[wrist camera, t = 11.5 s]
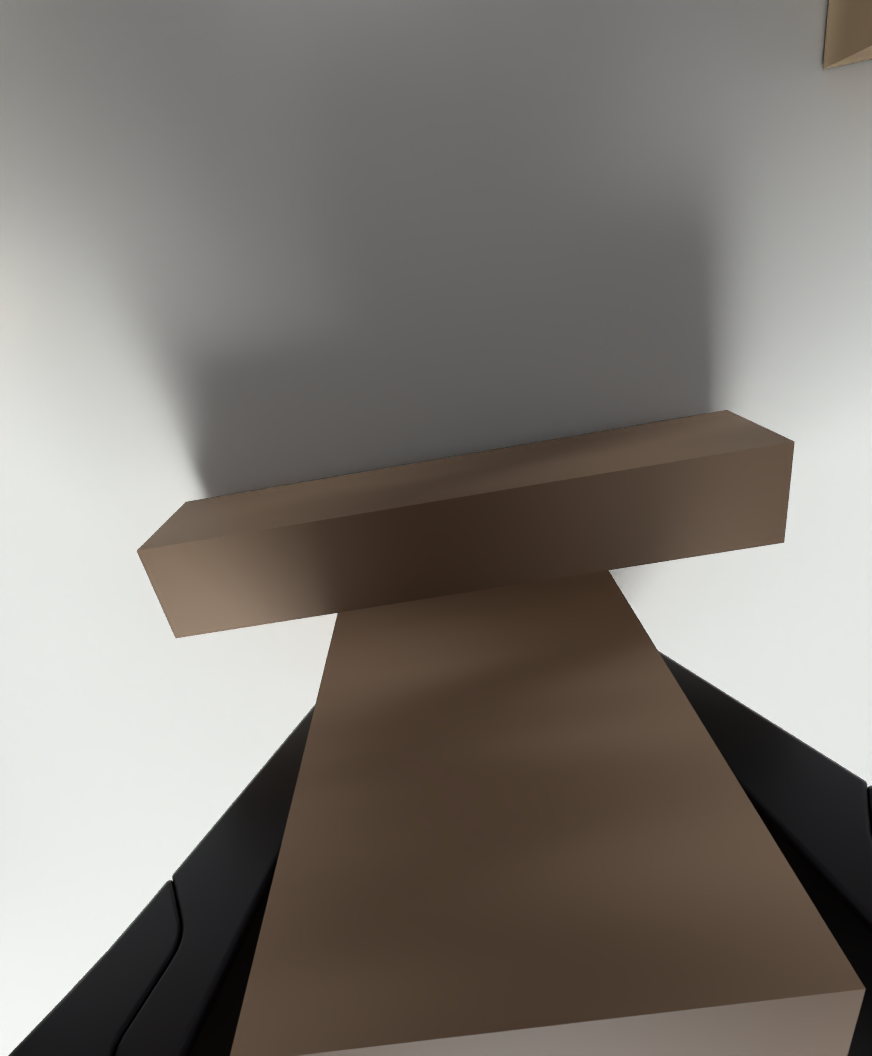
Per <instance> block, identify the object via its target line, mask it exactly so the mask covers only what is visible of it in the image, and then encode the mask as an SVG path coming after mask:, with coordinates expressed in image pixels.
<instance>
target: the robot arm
mask: <svg viewBox="0 0 872 1056" xmlns="http://www.w3.org/2000/svg"><path fill="white" fill-rule="evenodd" d="M658 652H659V651H658ZM659 654H660V655H661V657H662V658H663V660H664V662H665V663H666V665H667V667H668V668H669V670H670V671H671V673H672V675H673V676H674V678H675V680H676V681H677V683H678V684H679V686H680V688H681V689H682V691H683V693H684V694H685V696H686V697H687V699H688V701H689V702H690V704H691V706H692V707H693V709H694V710H695V712H696V714H697V715H698V717H699V719H700V720H701V722H702V723H703V725H704V727H705V728H706V730H707V732H708V733H709V735H710V736H711V738H712V740H713V741H714V743H715V745H716V746H717V748H718V749H719V751H720V753H721V754H722V756H723V758H724V759H725V761H726V762H727V764H728V766H729V767H730V769H731V771H732V772H733V774H734V775H735V777H736V779H737V780H738V782H739V784H740V785H741V787H742V788H743V790H744V792H745V793H746V795H747V797H748V798H749V800H750V801H751V803H752V805H753V806H754V808H755V810H756V811H757V813H758V815H759V816H760V818H761V819H762V821H763V823H764V824H765V826H766V828H767V829H768V831H769V832H770V834H771V836H772V837H773V839H774V841H775V842H776V844H777V845H778V847H779V849H780V850H781V852H782V854H783V855H784V857H785V858H786V860H787V862H788V863H789V865H790V867H791V868H792V870H793V871H794V873H795V875H796V876H797V878H798V880H799V881H800V883H801V884H802V886H803V888H804V889H805V891H806V893H807V894H808V896H809V897H810V899H811V901H812V902H813V904H814V906H815V907H816V909H817V910H818V912H819V914H820V915H821V917H822V919H823V920H824V922H825V923H826V925H827V927H828V928H829V930H830V932H831V933H832V935H833V936H834V938H835V940H836V941H837V943H838V945H839V946H840V948H841V949H842V951H843V953H844V954H845V956H846V958H847V959H848V961H849V962H850V964H851V966H852V967H853V969H854V971H855V972H856V974H857V975H858V977H859V979H860V980H861V982H862V984H863V985H864V987H865V988H866V990H865V994H864V997H863V1001H862V1004H861V1008H860V1012H859V1015H858V1019H857V1022H856V1026H855V1030H854V1033H853V1037H852V1041H851V1044H850V1048H849V1051H848V1055H847V1056H872V786H869V787H868V788H867V783H866V781H864V780H863V779H861V778H860V777H858V776H857V775H855V774H853V773H852V772H850V771H849V770H847V769H845V768H844V767H842V766H841V765H839V764H837V763H836V762H834V761H833V760H831V759H830V758H828V757H826V756H825V755H823V754H822V753H820V752H818V751H817V750H815V749H814V748H812V747H810V746H809V745H807V744H806V743H804V742H802V741H801V740H799V739H798V738H796V737H795V736H793V735H791V734H790V733H788V732H787V731H785V730H783V729H782V728H780V727H779V726H777V725H775V724H774V723H772V722H771V721H769V720H767V719H766V718H764V717H763V716H761V715H760V714H758V713H756V712H755V711H753V710H752V709H750V708H748V707H747V706H745V705H744V704H742V703H740V702H739V701H737V700H736V699H734V698H732V697H731V696H729V695H728V694H726V693H725V692H723V691H721V690H720V689H718V688H717V687H715V686H713V685H712V684H710V683H709V682H707V681H705V680H704V679H702V678H701V677H699V676H697V675H696V674H694V673H693V672H691V671H690V670H688V669H686V668H685V667H683V666H682V665H680V664H678V663H677V662H675V661H674V660H672V659H670V658H669V657H667V656H666V655H664V654H662V653H661V652H659ZM315 705H316V704H315ZM315 705H314V707H313V708H312V709H311V710H310V711H309V713H308V714H307V715H306V716H305V717H304V719H303V720H302V721H301V722H300V723H299V725H298V726H297V727H296V728H295V729H294V730H293V732H292V733H291V734H290V735H289V736H288V738H287V739H286V740H285V741H284V742H283V744H282V745H281V746H280V747H279V748H278V750H277V751H276V752H275V753H274V754H273V756H272V757H271V758H270V759H269V760H268V762H267V763H266V764H265V765H264V766H263V768H262V769H261V770H260V771H259V772H258V774H257V775H256V776H255V777H254V778H253V780H252V781H251V782H250V783H249V784H248V785H247V787H246V788H245V789H244V790H243V791H242V793H241V794H240V795H239V796H238V797H237V799H236V800H235V801H234V802H233V803H232V805H231V806H230V807H229V808H228V809H227V811H226V812H225V813H224V814H223V815H222V817H221V818H220V819H219V820H218V821H217V823H216V824H215V825H214V826H213V827H212V829H211V830H210V831H209V832H208V833H207V835H206V836H205V837H204V838H203V839H202V840H201V842H200V843H199V844H198V845H197V846H196V848H195V849H194V850H193V851H192V852H191V854H190V855H189V856H188V857H187V858H186V860H185V861H184V862H183V863H182V864H181V866H180V867H179V868H178V869H177V870H176V872H175V873H174V874H173V876H172V879H173V881H172V880H169V881H167V882H166V883H165V884H164V886H163V887H162V888H161V889H160V890H159V892H158V893H157V894H156V895H155V896H154V898H153V899H152V900H151V901H150V902H149V904H148V905H147V906H146V907H145V908H144V909H143V911H142V912H141V913H140V914H139V915H138V916H137V917H136V919H135V920H134V921H133V922H132V923H131V924H130V926H129V927H128V928H127V929H126V930H125V931H124V932H123V934H122V935H121V936H120V937H119V938H118V939H117V940H116V942H115V943H114V944H113V945H112V946H111V947H110V949H109V950H108V951H107V952H106V953H105V954H104V955H103V956H102V957H101V958H100V959H99V960H98V962H97V963H96V964H95V965H94V966H93V967H92V968H91V969H90V970H89V971H88V972H87V973H86V974H85V976H84V977H83V978H82V979H81V980H80V981H79V982H78V983H77V984H76V985H75V986H74V987H73V988H72V990H71V991H70V992H69V993H68V994H67V995H66V996H65V997H64V998H63V999H62V1000H61V1001H60V1002H59V1003H58V1004H57V1005H56V1006H55V1008H54V1009H53V1010H52V1011H51V1012H50V1013H49V1014H48V1015H47V1016H46V1017H45V1018H44V1019H43V1020H42V1021H41V1022H40V1023H39V1024H38V1025H37V1026H36V1027H35V1028H34V1029H33V1030H32V1032H31V1033H30V1034H29V1035H28V1036H27V1037H26V1038H25V1039H24V1040H23V1041H22V1042H21V1043H20V1044H19V1045H18V1046H17V1047H16V1048H15V1049H14V1050H13V1051H12V1052H11V1053H10V1054H9V1056H230V1053H231V1049H232V1045H233V1041H234V1037H235V1033H236V1028H237V1024H238V1020H239V1016H240V1012H241V1008H242V1004H243V1000H244V996H245V992H246V988H247V983H248V979H249V975H250V971H251V967H252V963H253V959H254V955H255V951H256V947H257V942H258V938H259V934H260V930H261V926H262V922H263V918H264V914H265V910H266V906H267V901H268V897H269V893H270V889H271V885H272V881H273V877H274V873H275V869H276V865H277V860H278V856H279V852H280V848H281V844H282V840H283V836H284V832H285V828H286V824H287V819H288V815H289V811H290V807H291V803H292V799H293V795H294V791H295V787H296V783H297V778H298V774H299V770H300V766H301V762H302V758H303V754H304V750H305V746H306V742H307V738H308V733H309V729H310V725H311V721H312V717H313V713H314V709H315Z"/></svg>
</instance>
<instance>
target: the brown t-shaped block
mask: <svg viewBox="0 0 872 1056" xmlns="http://www.w3.org/2000/svg"><path fill="white" fill-rule="evenodd" d="M793 451H794V441H792V440H790V439H788V438H786V437H784V436H781V435H779V434H777V433H775V432H773V431H771V430H769V429H766V428H764V427H762V426H760V425H758V424H756V423H754V422H751V421H749V420H747V419H745V418H743V417H741V416H739V415H736V414H734V413H732V412H730V411H728V410H724V411H719V412H713V413H707V414H701V415H695V416H689V417H683V418H677V419H671V420H666V421H660V422H654V423H648V424H642V425H636V426H630V427H624V428H618V429H613V430H607V431H601V432H595V433H589V434H583V435H577V436H571V437H565V438H559V439H554V440H548V441H542V442H536V443H530V444H524V445H518V446H512V447H506V448H501V449H495V450H489V451H483V452H477V453H471V454H465V455H459V456H453V457H448V458H442V459H436V460H430V461H424V462H418V463H412V464H406V465H400V466H395V467H389V468H383V469H377V470H371V471H365V472H359V473H353V474H347V475H342V476H336V477H330V478H324V479H318V480H312V481H306V482H300V483H294V484H289V485H283V486H277V487H271V488H265V489H259V490H253V491H247V492H241V493H235V494H230V495H224V496H218V497H212V498H206V499H200V500H194V501H188V502H185V503H184V504H183V505H182V506H181V507H180V508H179V509H178V510H177V511H176V512H175V513H174V514H173V515H172V516H171V517H170V518H169V519H168V520H167V521H166V522H165V523H164V524H163V525H162V526H161V527H160V528H159V529H158V530H157V531H156V532H155V533H154V534H153V535H152V536H151V537H150V538H149V539H148V540H147V541H146V542H145V543H144V544H143V545H142V546H141V547H140V548H139V549H138V550H137V553H138V555H139V557H140V559H141V562H142V564H143V566H144V568H145V570H146V573H147V575H148V577H149V579H150V582H151V584H152V586H153V588H154V591H155V593H156V595H157V597H158V600H159V602H160V604H161V606H162V609H163V611H164V613H165V615H166V618H167V620H168V622H169V624H170V627H171V629H172V631H173V633H174V636H175V638H180V637H186V636H192V635H199V634H205V633H212V632H218V631H224V630H231V629H237V628H243V627H250V626H256V625H262V624H269V623H275V622H281V621H288V620H294V619H301V618H307V617H313V616H320V615H326V614H332V613H338V615H337V619H336V623H335V627H334V631H333V635H332V639H331V643H330V647H329V651H328V656H327V660H326V664H325V668H324V672H323V676H322V680H321V684H320V688H319V692H318V697H317V701H316V705H315V709H314V713H313V717H312V721H311V725H310V729H309V733H308V738H307V742H306V746H305V750H304V754H303V758H302V762H301V766H300V770H299V774H298V778H297V783H296V787H295V791H294V795H293V799H292V803H291V807H290V811H289V815H288V819H287V824H286V828H285V832H284V836H283V840H282V844H281V848H280V852H279V856H278V860H277V865H276V869H275V873H274V877H273V881H272V885H271V889H270V893H269V897H268V901H267V906H266V910H265V914H264V918H263V922H262V926H261V930H260V934H259V938H258V942H257V947H256V951H255V955H254V959H253V963H252V967H251V971H250V975H249V979H248V983H247V988H246V992H245V996H244V1000H243V1004H242V1008H241V1012H240V1016H239V1020H238V1024H237V1028H236V1033H235V1037H234V1041H233V1045H232V1049H231V1053H230V1056H847V1055H848V1051H849V1048H850V1044H851V1041H852V1037H853V1033H854V1030H855V1026H856V1022H857V1019H858V1015H859V1012H860V1008H861V1004H862V1001H863V997H864V994H865V990H866V988H865V987H864V985H863V984H862V982H861V980H860V979H859V977H858V975H857V974H856V972H855V971H854V969H853V967H852V966H851V964H850V962H849V961H848V959H847V958H846V956H845V954H844V953H843V951H842V949H841V948H840V946H839V945H838V943H837V941H836V940H835V938H834V936H833V935H832V933H831V932H830V930H829V928H828V927H827V925H826V923H825V922H824V920H823V919H822V917H821V915H820V914H819V912H818V910H817V909H816V907H815V906H814V904H813V902H812V901H811V899H810V897H809V896H808V894H807V893H806V891H805V889H804V888H803V886H802V884H801V883H800V881H799V880H798V878H797V876H796V875H795V873H794V871H793V870H792V868H791V867H790V865H789V863H788V862H787V860H786V858H785V857H784V855H783V854H782V852H781V850H780V849H779V847H778V845H777V844H776V842H775V841H774V839H773V837H772V836H771V834H770V832H769V831H768V829H767V828H766V826H765V824H764V823H763V821H762V819H761V818H760V816H759V815H758V813H757V811H756V810H755V808H754V806H753V805H752V803H751V801H750V800H749V798H748V797H747V795H746V793H745V792H744V790H743V788H742V787H741V785H740V784H739V782H738V780H737V779H736V777H735V775H734V774H733V772H732V771H731V769H730V767H729V766H728V764H727V762H726V761H725V759H724V758H723V756H722V754H721V753H720V751H719V749H718V748H717V746H716V745H715V743H714V741H713V740H712V738H711V736H710V735H709V733H708V732H707V730H706V728H705V727H704V725H703V723H702V722H701V720H700V719H699V717H698V715H697V714H696V712H695V710H694V709H693V707H692V706H691V704H690V702H689V701H688V699H687V697H686V696H685V694H684V693H683V691H682V689H681V688H680V686H679V684H678V683H677V681H676V680H675V678H674V676H673V675H672V673H671V671H670V670H669V668H668V667H667V665H666V663H665V662H664V660H663V658H662V657H661V655H660V654H659V652H658V650H657V649H656V647H655V645H654V644H653V642H652V641H651V639H650V637H649V636H648V634H647V632H646V631H645V629H644V628H643V626H642V624H641V623H640V621H639V619H638V618H637V616H636V614H635V613H634V611H633V610H632V608H631V606H630V605H629V603H628V601H627V600H626V598H625V597H624V595H623V593H622V592H621V590H620V588H619V587H618V585H617V584H616V582H615V580H614V579H613V577H612V575H611V574H610V572H609V571H608V570H612V569H619V568H625V567H631V566H638V565H644V564H650V563H657V562H663V561H669V560H676V559H682V558H689V557H695V556H701V555H708V554H714V553H720V552H727V551H733V550H739V549H746V548H752V547H759V546H765V545H771V544H778V543H784V538H785V528H786V519H787V509H788V499H789V490H790V480H791V471H792V461H793Z"/></svg>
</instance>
